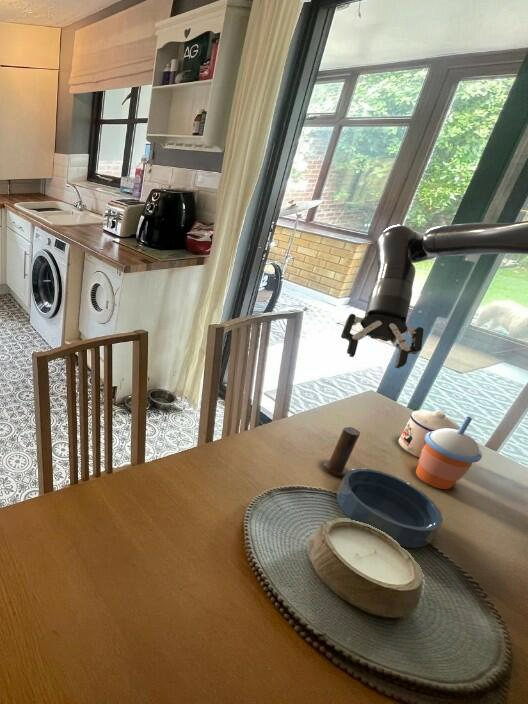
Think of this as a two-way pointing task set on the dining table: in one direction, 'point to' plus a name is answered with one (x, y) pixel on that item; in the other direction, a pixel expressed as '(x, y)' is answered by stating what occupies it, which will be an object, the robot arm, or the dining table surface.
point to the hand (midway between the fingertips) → (374, 361)
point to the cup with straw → (447, 456)
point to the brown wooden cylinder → (342, 452)
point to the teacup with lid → (423, 429)
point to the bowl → (389, 506)
